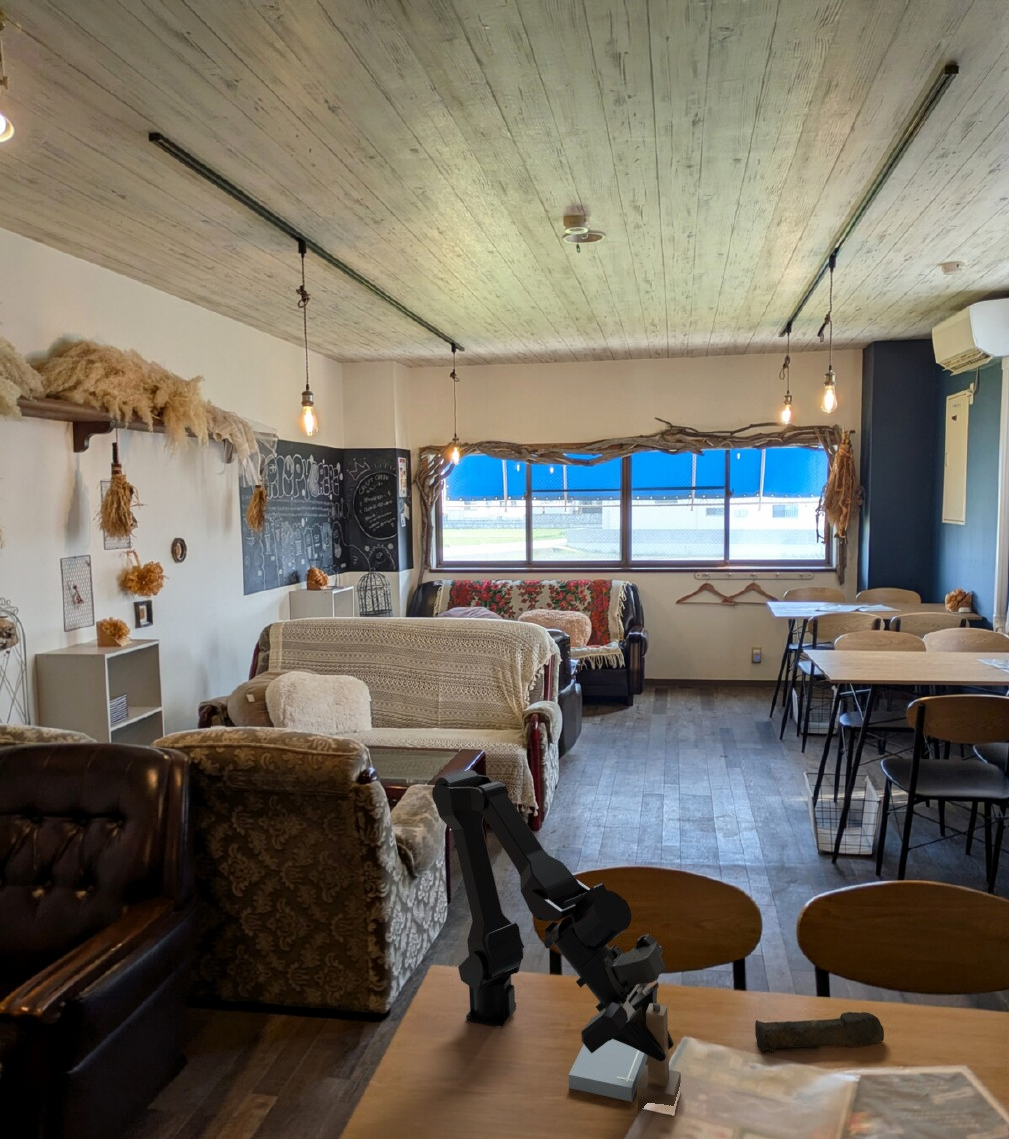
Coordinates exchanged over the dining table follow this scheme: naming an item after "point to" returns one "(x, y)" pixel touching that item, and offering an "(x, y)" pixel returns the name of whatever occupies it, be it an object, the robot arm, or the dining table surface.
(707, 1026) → the dining table surface
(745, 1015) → the dining table surface
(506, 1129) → the dining table surface
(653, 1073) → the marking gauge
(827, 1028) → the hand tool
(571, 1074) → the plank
